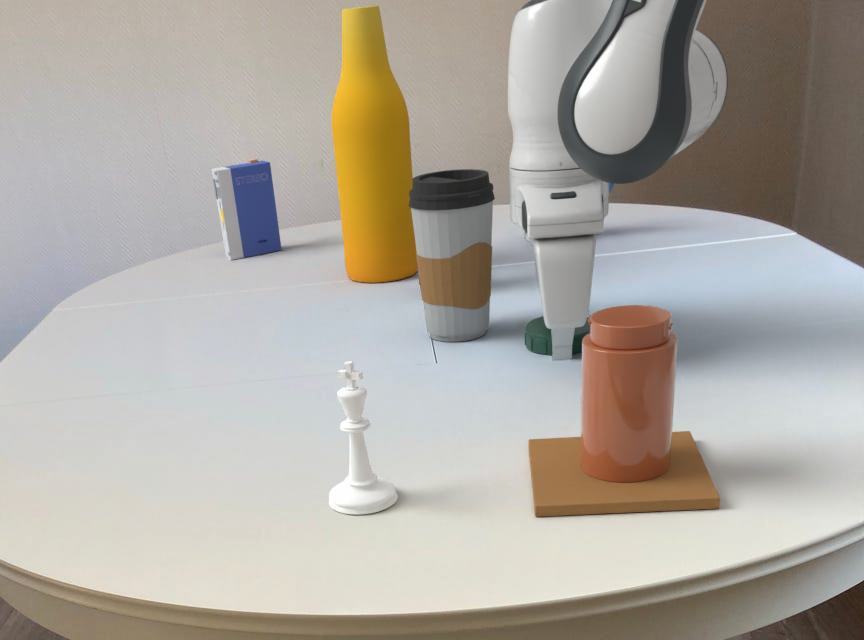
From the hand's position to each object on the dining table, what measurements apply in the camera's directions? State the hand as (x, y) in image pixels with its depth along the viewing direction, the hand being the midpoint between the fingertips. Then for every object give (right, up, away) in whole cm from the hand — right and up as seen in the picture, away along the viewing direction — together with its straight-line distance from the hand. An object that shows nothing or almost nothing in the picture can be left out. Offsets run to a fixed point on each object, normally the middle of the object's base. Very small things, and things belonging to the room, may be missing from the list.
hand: (559, 349), depth 103 cm
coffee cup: (-9, +3, +6) cm, 12 cm away
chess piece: (-18, -18, -27) cm, 38 cm away
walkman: (-36, +27, +48) cm, 66 cm away
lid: (0, +2, -1) cm, 2 cm away
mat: (0, -17, -27) cm, 32 cm away
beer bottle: (-17, +18, +31) cm, 39 cm away
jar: (0, -16, -28) cm, 32 cm away
